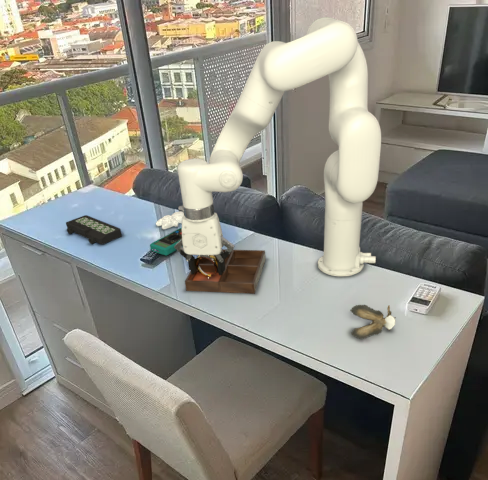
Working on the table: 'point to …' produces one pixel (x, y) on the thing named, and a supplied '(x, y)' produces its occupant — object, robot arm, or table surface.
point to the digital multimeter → (167, 243)
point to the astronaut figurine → (170, 220)
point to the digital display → (93, 229)
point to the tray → (230, 273)
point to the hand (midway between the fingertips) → (207, 271)
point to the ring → (212, 262)
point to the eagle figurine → (376, 319)
